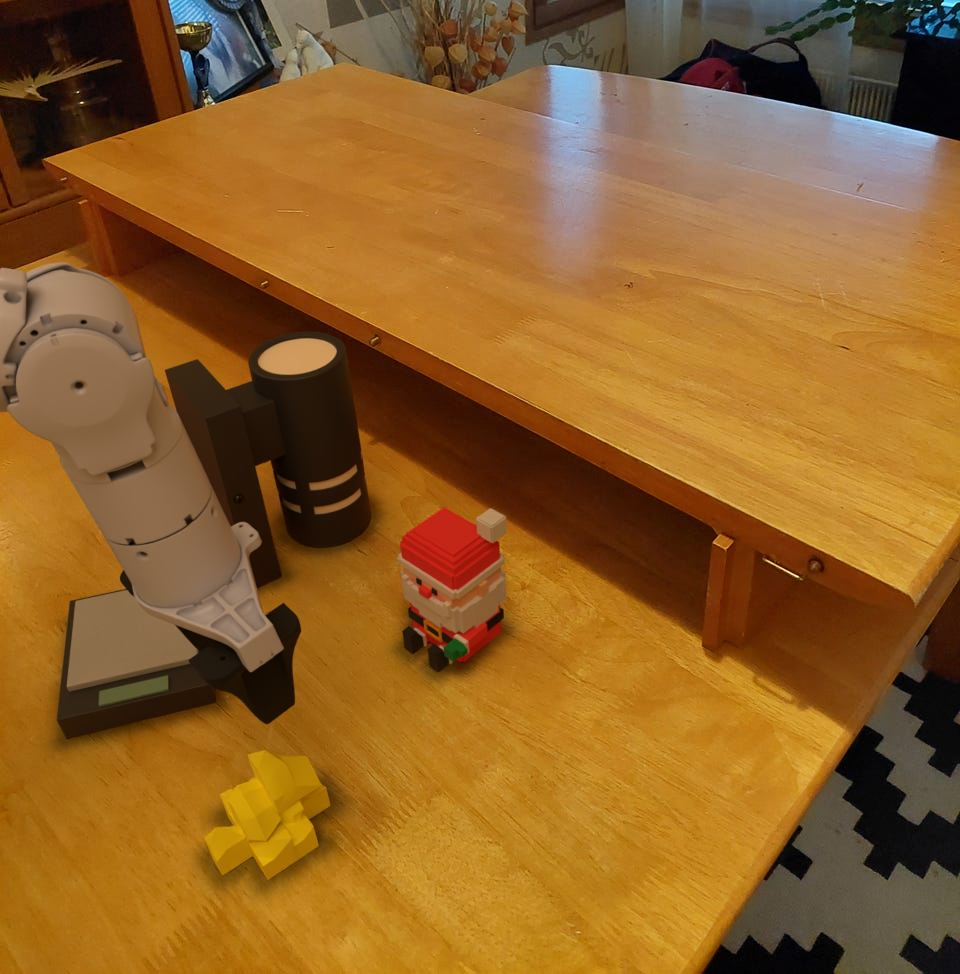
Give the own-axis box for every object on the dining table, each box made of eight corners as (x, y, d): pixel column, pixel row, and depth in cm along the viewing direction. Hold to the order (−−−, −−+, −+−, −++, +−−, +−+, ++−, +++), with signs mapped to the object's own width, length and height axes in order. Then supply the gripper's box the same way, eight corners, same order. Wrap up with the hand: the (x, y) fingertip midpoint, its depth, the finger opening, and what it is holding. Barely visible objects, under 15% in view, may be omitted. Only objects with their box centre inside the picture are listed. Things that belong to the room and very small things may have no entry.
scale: (216, 703, 71) (208, 678, 69) (65, 739, 68) (53, 714, 67) (209, 590, 81) (201, 566, 79) (77, 619, 79) (67, 595, 77)
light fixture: (391, 529, 86) (367, 361, 75) (253, 592, 80) (206, 419, 69) (342, 479, 92) (314, 318, 82) (212, 534, 87) (163, 368, 76)
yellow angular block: (198, 834, 62) (169, 763, 57) (303, 769, 65) (284, 697, 61) (237, 900, 58) (209, 829, 53) (346, 827, 62) (329, 755, 57)
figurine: (385, 635, 75) (367, 521, 68) (447, 589, 79) (436, 476, 72) (460, 688, 70) (449, 572, 63) (521, 637, 74) (518, 522, 67)
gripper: (297, 525, 43) (368, 700, 52) (165, 416, 53) (243, 580, 61) (164, 612, 40) (263, 782, 49) (49, 480, 50) (149, 643, 58)
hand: (245, 675), depth 55 cm, fingers open, 7 cm apart
